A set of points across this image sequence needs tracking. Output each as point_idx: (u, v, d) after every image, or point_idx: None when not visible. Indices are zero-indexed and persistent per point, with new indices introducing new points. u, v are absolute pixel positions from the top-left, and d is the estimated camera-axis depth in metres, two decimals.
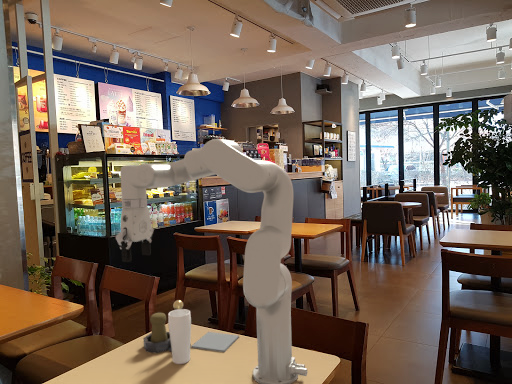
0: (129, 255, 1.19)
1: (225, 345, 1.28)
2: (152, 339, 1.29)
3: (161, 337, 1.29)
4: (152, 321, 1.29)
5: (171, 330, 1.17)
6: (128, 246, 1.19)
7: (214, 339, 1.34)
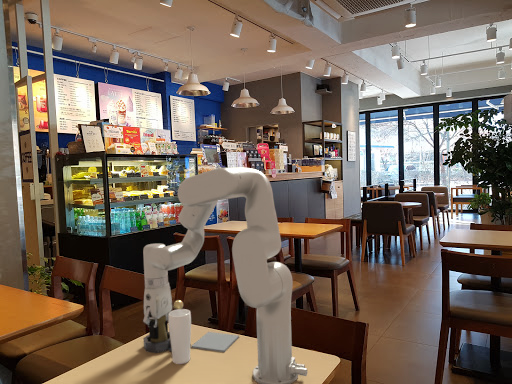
0: (156, 333, 1.28)
1: (225, 345, 1.28)
2: (152, 339, 1.29)
3: (161, 337, 1.29)
4: None
5: (171, 330, 1.17)
6: (155, 325, 1.27)
7: (214, 339, 1.34)
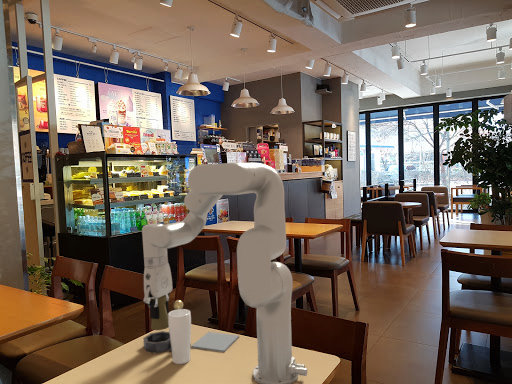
0: (157, 312, 1.27)
1: (225, 345, 1.28)
2: (153, 319, 1.29)
3: (162, 317, 1.28)
4: None
5: (171, 330, 1.17)
6: (156, 304, 1.27)
7: (214, 339, 1.34)
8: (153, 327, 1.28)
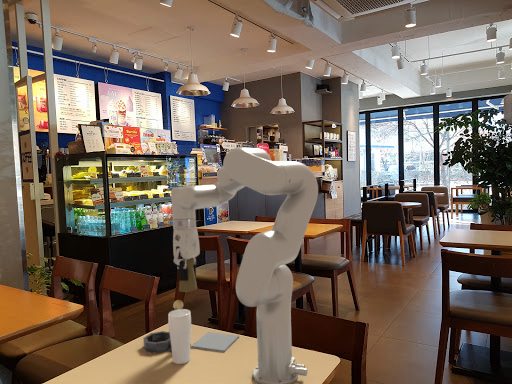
0: (186, 274, 1.28)
1: (225, 345, 1.28)
2: (181, 281, 1.29)
3: (190, 279, 1.29)
4: None
5: (171, 330, 1.17)
6: (185, 266, 1.27)
7: (214, 339, 1.34)
8: (181, 289, 1.29)
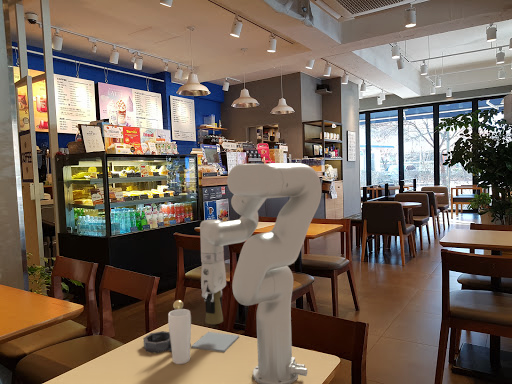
0: (213, 307, 1.29)
1: (225, 345, 1.28)
2: (208, 313, 1.31)
3: (217, 312, 1.30)
4: None
5: (171, 330, 1.17)
6: (212, 299, 1.29)
7: (214, 339, 1.34)
8: (208, 321, 1.30)
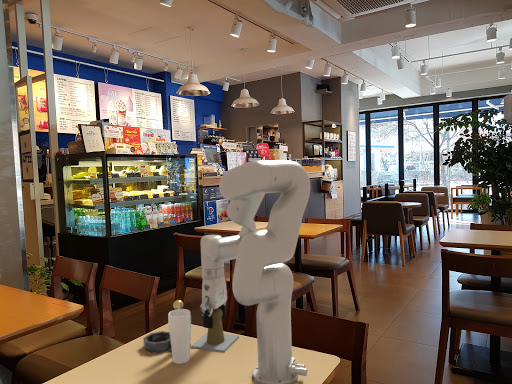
0: (211, 322, 1.27)
1: (225, 345, 1.28)
2: (209, 334, 1.31)
3: (218, 332, 1.30)
4: None
5: (171, 330, 1.17)
6: (210, 314, 1.27)
7: None
8: (209, 341, 1.30)
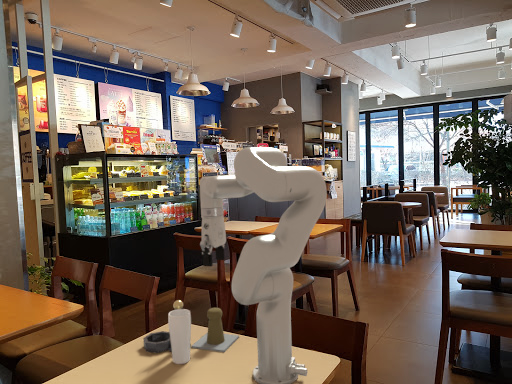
0: (210, 260, 1.29)
1: (225, 345, 1.28)
2: (209, 334, 1.31)
3: (218, 332, 1.30)
4: (209, 316, 1.30)
5: (171, 330, 1.17)
6: (210, 252, 1.28)
7: None
8: (209, 341, 1.30)
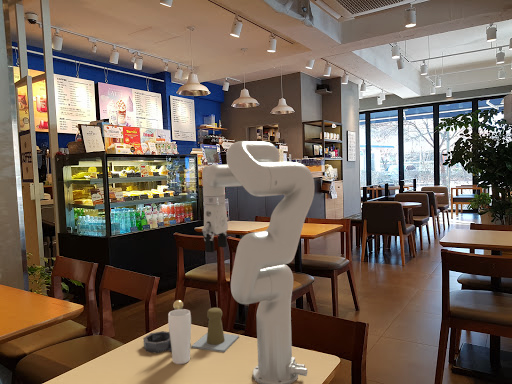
0: (212, 246, 1.33)
1: (225, 345, 1.28)
2: (209, 334, 1.31)
3: (218, 332, 1.30)
4: (209, 316, 1.30)
5: (171, 330, 1.17)
6: (212, 238, 1.33)
7: None
8: (209, 341, 1.30)
